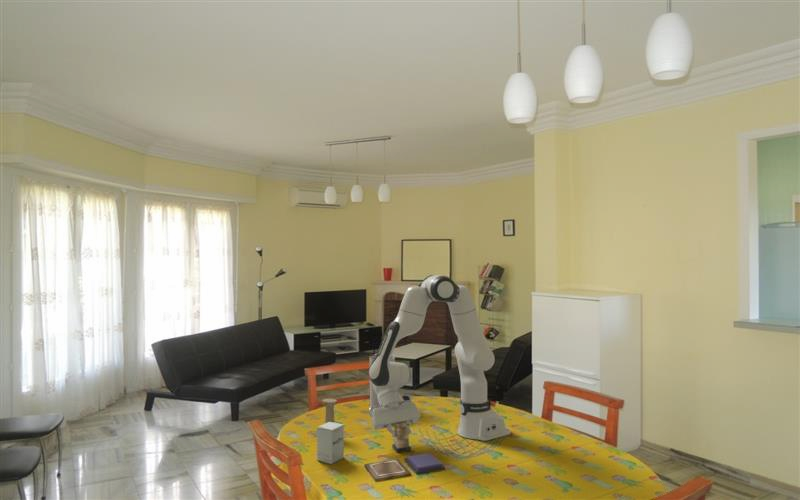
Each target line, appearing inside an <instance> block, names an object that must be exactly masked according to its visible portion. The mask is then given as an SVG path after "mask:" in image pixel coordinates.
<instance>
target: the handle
mask: <svg viewBox="0 0 800 500" xmlns="http://www.w3.org/2000/svg"><path fill="white" fill-rule="evenodd" d="M321 403H322V405H324V407H325V418H324V424H325V423H328V422H333V423H336V422H335V409H334V408H335V406H336V405H337V404H338V400H337V399H335V398H324V399H322V400H321Z"/></svg>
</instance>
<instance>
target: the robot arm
mask: <svg viewBox="0 0 800 500" xmlns="http://www.w3.org/2000/svg"><path fill="white" fill-rule="evenodd" d="M432 302H441V303H446V304H447V306H448V309H449V310H448V311H449V313H450V318H451V322H452V326H453V330H454V331H453V332H454V333H455V335H456V336H457V338H458V340H459V341H458V342H457V343H456V344H455V346H454V355H455V357H456V361H457V362H456V363H457V366H458V367H457V368H458V372H459V379H460V399H459V412H460V419H459V420H460V421H459V425H458V430H457V435H459V436H460V437H463V438H466V439H469V440H470V439H471V440H479V441H483V442H484V441H485V442H486V441H489V440H493V439H498V438H502V437H506V436H509V435H511V434H512V433H511V429H510V428H509V427H507V426H506V425H505V424H506V423H505V419H504V417H503V416H502V415H500V414H499V413H498V412H497V411H495V410H494V409H492V408H495V407H496V405H497V403H496V402H495V401H493V400H489V399H488V380H487V379H486V376H485V372H486V371H488V370H490V369H492V368H493V365H494V364H495V360H496V359H495V354H494V352H493V351H492V349H491V347H490V346H489V344H488V341H487V339H486V337H485V334H484V332H483V330H482V326H481V323H480V320H479V316H478V312H477V311H478V310H477V307H476V303H475V301H474V298H473V296H472V293H471V291H470V289H469V287H468V286H466V285H463V284H457V283H456V282H454V280H453V279H452V278H451V277H450V276H446V275H442V274H432V275H431V274H430V275H428V276H426V277H425V278H424V279H423V280H422V281H421V282H420V283H419V284H418V285H411V286H409V287H408V288H407V289H406V291H405V293H404V295H403V298H402V301H401V303H400V306H399V310H398V312H397V315H396V317H395V318H394V320H393V321H392V322H390V323H389V325H388V327H387V328H386V331H385V332H384V335H383V337H382V340H381V342H380V345H379V348H378V350H377V352H376V355H375V356H376V357H375V359H374V361H373V362H372V364H371V366H370V365H369V368H368V379H369V381H370V380H371V382H372V385H373V388H374V391H375V393H376V394H377V396H378V402H379V405H377V406H372V407H371V408H370V407H369V408H368V414H369V416H370V418H371V423H372V427H373V429H375V430H381V429H386V430H387V431H388V432H389V433H390V434H391V436H392V438H394V437H396V436H397V433H396V431H394V429H393V428H392V427H394V426H397V423H399V422H404V423H406V427H408V428H409V435H410V434H412V430H411V424H412V423H418V422H419V420H420V417H421V413H420V411H419V408H418V407H417V405H416V404H415V402H413V398H412V396H411V395H408V394H407V395H406V394H402V393H399V391H398V389H399V390H400V389H401V388H404V386H406V385H407V384H408V383H409V381H410V380H411V379H410V378H411V371H410V367H409V366H408V364H406V363H404V362H398V361H395V362H389V361H390V358H391V356H393V353H394V350H395V348H396V345H397V343H398V342H399V341H400V340H401V339H403V338H405V337H407V336H413V335H414V334H417V333H418V332H419V331H420V330H421V329H422V327H423V325H424V322H425V319H426V314H427V311H428V310H427V309H428V307H429V305H430V303H432Z"/></svg>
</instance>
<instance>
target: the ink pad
mask: <svg viewBox="0 0 800 500" xmlns="http://www.w3.org/2000/svg"><path fill="white" fill-rule="evenodd" d="M403 460H404V463H405V464H406V465H407V466H408V467H409V468H410V469H411V471H413V472H414V473H415V474H416V475H420V474H427V473H432V472H437V471H445V470H446V465H444V464H443V463H442V462H441V461H440V460H438V459H437V458H436V456H434V455H433V454H432V453H431V452H429V453H428V452H427V453H421V454H415V455H409V456H407V458H403Z"/></svg>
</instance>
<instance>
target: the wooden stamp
mask: <svg viewBox="0 0 800 500" xmlns="http://www.w3.org/2000/svg"><path fill="white" fill-rule="evenodd" d="M393 427H394V429H393V430H394V431H396V433H397V436H396V437H393V439H394V440H393V441H394V443H392V448H391V449H393V451H395V452H396V453H397V454H400V453H405V452H411V451H412V447H411V446H410V444H409V443H410V442H409V441H410V440H409V437H410V434H409V428H408V427H407V426H406V423H404V422H399V423H397V426H393Z"/></svg>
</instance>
